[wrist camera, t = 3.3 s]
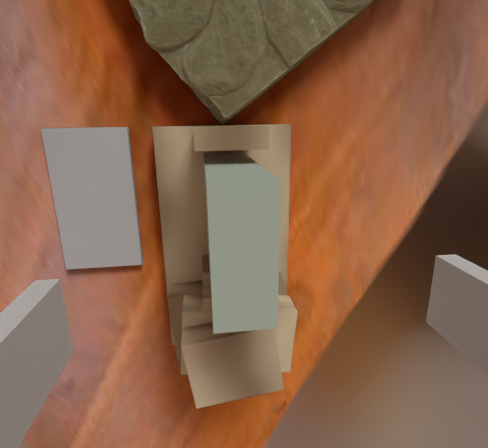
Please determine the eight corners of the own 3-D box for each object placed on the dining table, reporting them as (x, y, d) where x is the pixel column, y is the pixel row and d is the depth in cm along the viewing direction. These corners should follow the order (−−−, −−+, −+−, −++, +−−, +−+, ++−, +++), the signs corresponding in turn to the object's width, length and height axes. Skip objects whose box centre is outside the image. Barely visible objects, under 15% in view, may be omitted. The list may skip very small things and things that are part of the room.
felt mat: (68, 266, 28) (66, 269, 28) (44, 128, 25) (40, 128, 24) (143, 261, 29) (142, 264, 28) (128, 126, 26) (127, 127, 25)
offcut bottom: (179, 346, 29) (178, 366, 27) (170, 283, 28) (167, 299, 25) (282, 333, 30) (289, 351, 28) (279, 271, 28) (286, 285, 26)
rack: (173, 331, 31) (163, 411, 23) (155, 126, 26) (133, 128, 17) (281, 322, 32) (310, 395, 24) (284, 124, 27) (323, 125, 18)
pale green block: (208, 244, 27) (213, 333, 16) (203, 154, 25) (206, 181, 14) (245, 242, 27) (277, 328, 16) (244, 153, 25) (280, 179, 14)
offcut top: (196, 386, 25) (196, 408, 23) (182, 328, 23) (180, 346, 21) (277, 369, 25) (283, 389, 23) (268, 310, 24) (274, 327, 22)
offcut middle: (182, 352, 27) (180, 374, 24) (183, 294, 25) (182, 312, 23) (282, 350, 28) (289, 372, 25) (288, 295, 26) (297, 312, 24)
